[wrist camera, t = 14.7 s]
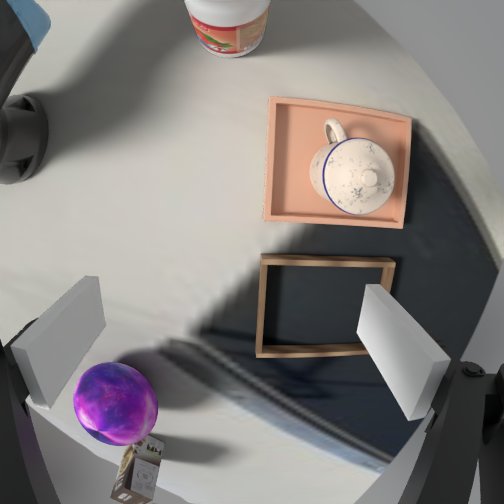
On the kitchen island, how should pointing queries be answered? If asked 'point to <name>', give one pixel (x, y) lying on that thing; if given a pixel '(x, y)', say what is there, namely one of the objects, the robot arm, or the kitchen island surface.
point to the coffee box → (138, 472)
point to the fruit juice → (229, 24)
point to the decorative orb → (115, 404)
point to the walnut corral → (314, 260)
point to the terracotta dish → (305, 147)
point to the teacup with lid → (352, 172)
